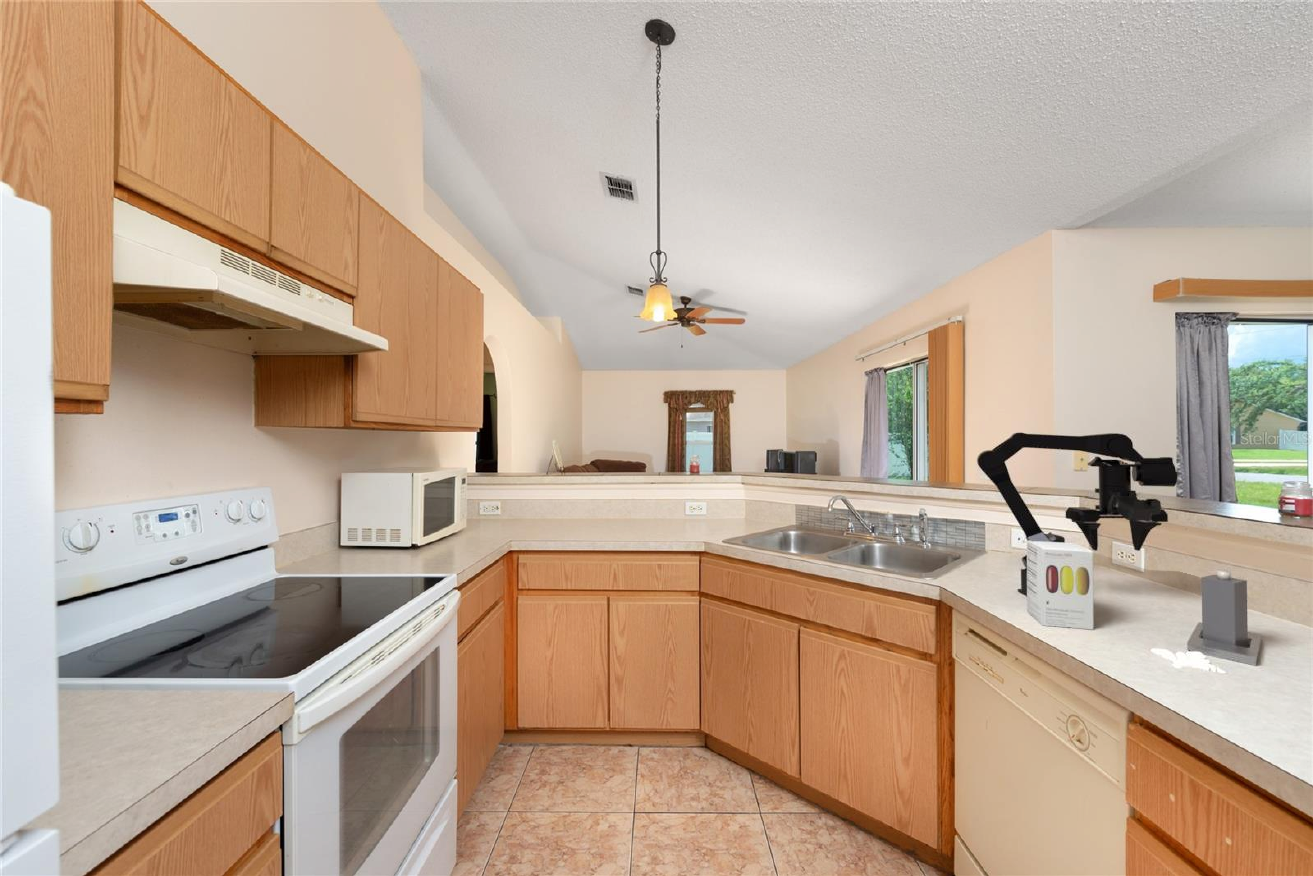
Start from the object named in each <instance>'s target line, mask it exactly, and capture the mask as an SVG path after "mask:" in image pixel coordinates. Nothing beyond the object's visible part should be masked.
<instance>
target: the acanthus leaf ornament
mask: <svg viewBox="0 0 1313 876" xmlns="http://www.w3.org/2000/svg"><path fill="white" fill-rule="evenodd" d="M1151 652H1153V653H1152V654H1154V653H1155V654H1156V655H1157V656H1159V655H1161V656H1160V657H1161V658H1163V659H1165V660H1168V659H1169V660H1168V661H1170V660H1171V662H1172V664H1171V666H1172V667H1173V666H1174V668H1176V669H1180V668H1183V667H1184V668H1190V667H1191V668H1190V669H1197V668H1199V669H1198V670H1201V669H1204V670H1203V671H1205V670H1207V671H1206V672H1212V671H1213V672H1214V673H1219V672H1220V674H1222V673H1227V672H1226V671H1225V670H1223V669H1221V668H1220V667H1218V666H1216V665H1214V664H1211V661H1210V660H1209V659H1207V655H1205V654H1203V653H1201V652H1192V651H1186V652H1182V651H1177V652H1176V653H1173V652H1172V651H1170V650H1168V649H1165V648H1151V649H1150V653H1151ZM1184 668H1183V669H1184ZM1213 672H1212V673H1213Z"/></svg>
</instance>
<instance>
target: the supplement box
mask: <svg viewBox="0 0 1313 876" xmlns="http://www.w3.org/2000/svg"><path fill="white" fill-rule="evenodd" d="M1026 555H1027V596H1026V611H1027V613H1028V614H1029V615H1031V616H1032V617H1033V618H1034V619H1035V620H1036V621H1037V622H1038V623H1040V624H1041V625H1042V626H1043V625H1044V626H1045V627H1046V626H1047V627H1055V626H1056V627H1058V628H1067V627H1071V628H1070V629H1079V630H1089V631H1090V630H1092V631H1094V628H1095V627H1094V550H1091V549H1089V548H1086V547H1084V546H1082V545H1079V544H1077V543H1075V542H1065V543H1063V542H1043V541H1027V540H1026ZM1044 626H1043V627H1044Z"/></svg>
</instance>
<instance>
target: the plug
mask: <svg viewBox="0 0 1313 876" xmlns="http://www.w3.org/2000/svg"><path fill="white" fill-rule="evenodd" d="M1201 618H1202V619H1201V623H1202V636H1203V637H1202V639H1207V640H1212V641H1217V642H1222V643H1226V644H1231V645H1236V646H1241V647H1246V648H1249V646H1248V632H1249V630H1248V628H1249V627H1248V581H1247V580H1246V579H1241V578H1234V577H1232V572H1231V571H1229V570H1225V569H1216V574H1212V575H1207V576H1202V577H1201Z"/></svg>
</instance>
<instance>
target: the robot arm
mask: <svg viewBox="0 0 1313 876" xmlns="http://www.w3.org/2000/svg"><path fill="white" fill-rule="evenodd" d="M1023 448H1028V449H1029V448H1030V449H1042V450H1043V449H1045V450H1046V449H1047V450H1059V451H1061V450H1064V451H1080V452H1084V453H1090V454H1094V455H1099V456H1095V457H1094V458H1093V459H1092V460H1091V461H1089V462H1087V466H1089V467H1098V487H1097V488H1094V493H1095V494H1096V493H1097V494H1098V498H1099V499H1098V504H1095V505H1094V506H1095V508H1090V507H1089V508H1088V507H1085V506H1083V507H1082V506H1081V507H1080V506H1078V507H1076V506H1075V507H1074V506H1070V507H1068V508H1067V509H1066V511H1065V519H1068V520H1070V521H1071V522H1072V523H1074V524H1076V525H1077V527H1078V528H1079V529H1080V531H1081V532H1082V533H1083V535H1084V537H1085V538H1086V541H1087V542H1088V544H1089V546H1090V547H1091V549H1092V551H1098V548H1099V535H1098V532H1099V531H1098V529H1099V527H1101V525H1102V523H1100V522H1098V521H1099V520H1100V519H1125V520H1127V521H1129V527H1130V534H1131V540H1132V541H1131V542H1132V546H1133V549H1134V551H1137V552H1138V551H1139V552H1140V551H1141V548H1142V547H1143V545H1144V543H1145V540H1146V538H1147V537H1148V535H1149V533H1151V530H1152V529H1154V528H1156V527H1158V526H1162V523H1168V522H1169V514H1168V513H1167V511H1165V509H1163V508H1162V504H1161V500H1159V499H1157V498H1146V499H1139V498H1138V495H1137V492H1136V490H1133V489H1132V481H1131V480H1133V482H1137V483H1138V485H1139V486H1141V487H1168V488H1169V487H1173V488H1174V487H1175V486H1176V485H1177V484H1178V472H1177V469H1176V466H1175V464H1174V458H1173V457H1169V456H1162V457H1143V456H1142V455H1141V454H1140V453H1139V452H1138V451H1137V450H1136V449H1135V448H1134V443H1133V441H1132V439H1131V438H1130V437H1129V436H1127V435H1125V434H1123V433H1115V432H1114V433H1113V432H1111V433H1110V432H1109V433H1099V434H1088V435H1063V434H1062V435H1057V434H1041V433H1024V432H1014V433H1013V434H1011V435H1010V437H1009V438H1007V439H1005V440H1004V441H1002V442H1001V443H1000V444H998V445H997V446H995V447H994V448H992V449H989V450H988V449H987V450H984V451H982V452H980V453H979V454H978V456H977V458H976V463H977V465H978V467H979V469H980V470H982V472H983V473H984V474H985V475H986V476H987V478H988V479H989V480H990V481H991V482H992V483H993V484H994V486H996V488H997V490H998V492H999V493H1000V494H1001V497H1002V498H1003V499H1004V501H1005V503H1006V505H1007V507H1008V508H1009V510H1010V511H1011V513H1012V514H1013V517H1014V518H1015V519H1016V521H1017V523H1018V525H1019V526H1020V528H1021V529H1022V532H1023V533H1024V536H1025V539H1026V542H1027V541H1043V542H1057V540H1056V538H1055V536H1054V535H1053V534H1054V533H1052V532H1051V531H1050V532H1048V533H1045V532H1044V531H1043V530H1042V529H1041V526H1040V525H1039V524H1038V522H1037V521H1036V519H1035V517H1034V516H1033V514H1032V513H1031V511H1030V509H1029V508H1028V506H1027V504H1026V503H1025V501H1024V500H1023V497H1022V496H1021V495H1020V492H1019V491H1018V490H1017V488H1016V487H1015V484H1014V483H1013V481H1012V480H1011V476H1010V472H1009V470H1008V468H1007V465H1006V461H1008V460H1009V459H1010V458H1011V457H1013V456H1014V455H1016V454H1017V453H1018V452H1020V451H1021V450H1022V449H1023ZM1100 455H1101V456H1104V457H1110V458H1117V459H1102V458H1101V457H1100ZM1118 459H1121V460H1122V461H1125V462H1132V463H1120V460H1118ZM1045 534H1046V535H1045ZM1021 561H1022V564H1023V566H1024V567H1025V568H1020V588H1017V592H1020V594H1023V595H1025V596H1026V597H1027V554H1026V555H1024V556H1023V557H1022V558H1021Z"/></svg>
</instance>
